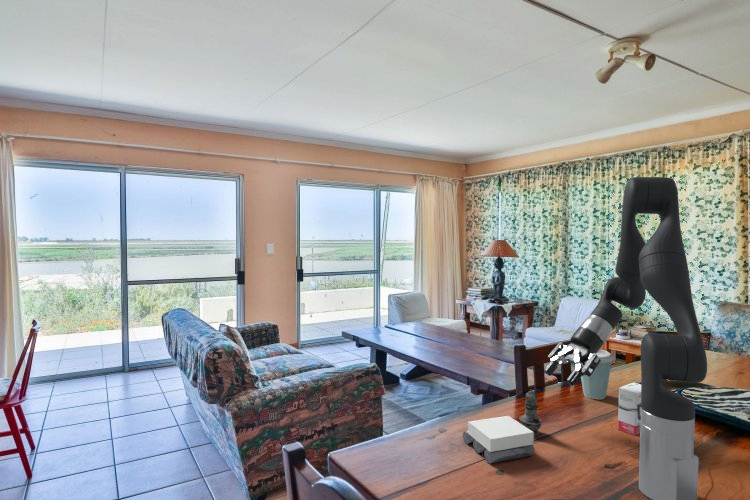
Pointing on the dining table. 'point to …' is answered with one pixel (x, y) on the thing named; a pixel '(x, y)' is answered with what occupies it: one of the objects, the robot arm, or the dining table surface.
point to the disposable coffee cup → (598, 377)
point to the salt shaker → (531, 414)
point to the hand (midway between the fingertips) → (557, 378)
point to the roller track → (501, 454)
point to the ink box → (630, 408)
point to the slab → (500, 433)
